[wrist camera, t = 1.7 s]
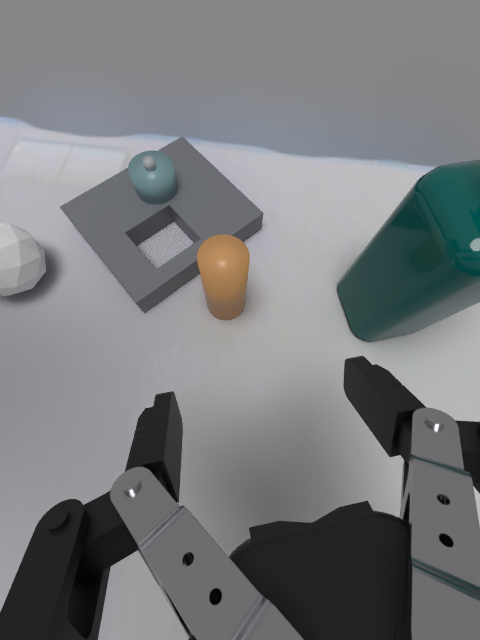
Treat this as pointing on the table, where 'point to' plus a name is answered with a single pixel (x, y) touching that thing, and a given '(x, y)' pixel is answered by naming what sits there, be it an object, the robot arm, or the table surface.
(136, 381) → the table surface
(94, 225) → the block
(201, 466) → the table surface
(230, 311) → the orange capsule
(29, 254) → the ball
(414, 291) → the pitcher
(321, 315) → the table surface
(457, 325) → the table surface
